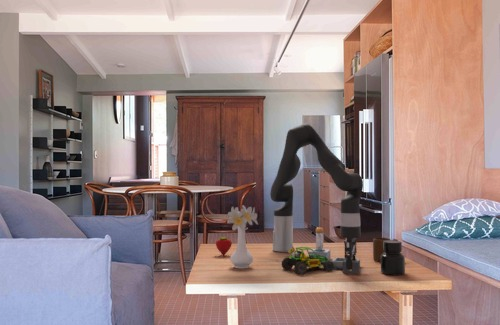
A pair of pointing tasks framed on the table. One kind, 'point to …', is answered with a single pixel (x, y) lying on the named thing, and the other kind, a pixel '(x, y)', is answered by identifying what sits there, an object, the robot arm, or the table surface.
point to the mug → (379, 248)
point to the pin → (319, 239)
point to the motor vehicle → (305, 261)
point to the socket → (320, 253)
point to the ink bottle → (392, 258)
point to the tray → (339, 262)
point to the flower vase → (241, 235)
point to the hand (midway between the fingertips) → (350, 267)
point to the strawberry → (223, 245)
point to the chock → (354, 269)
